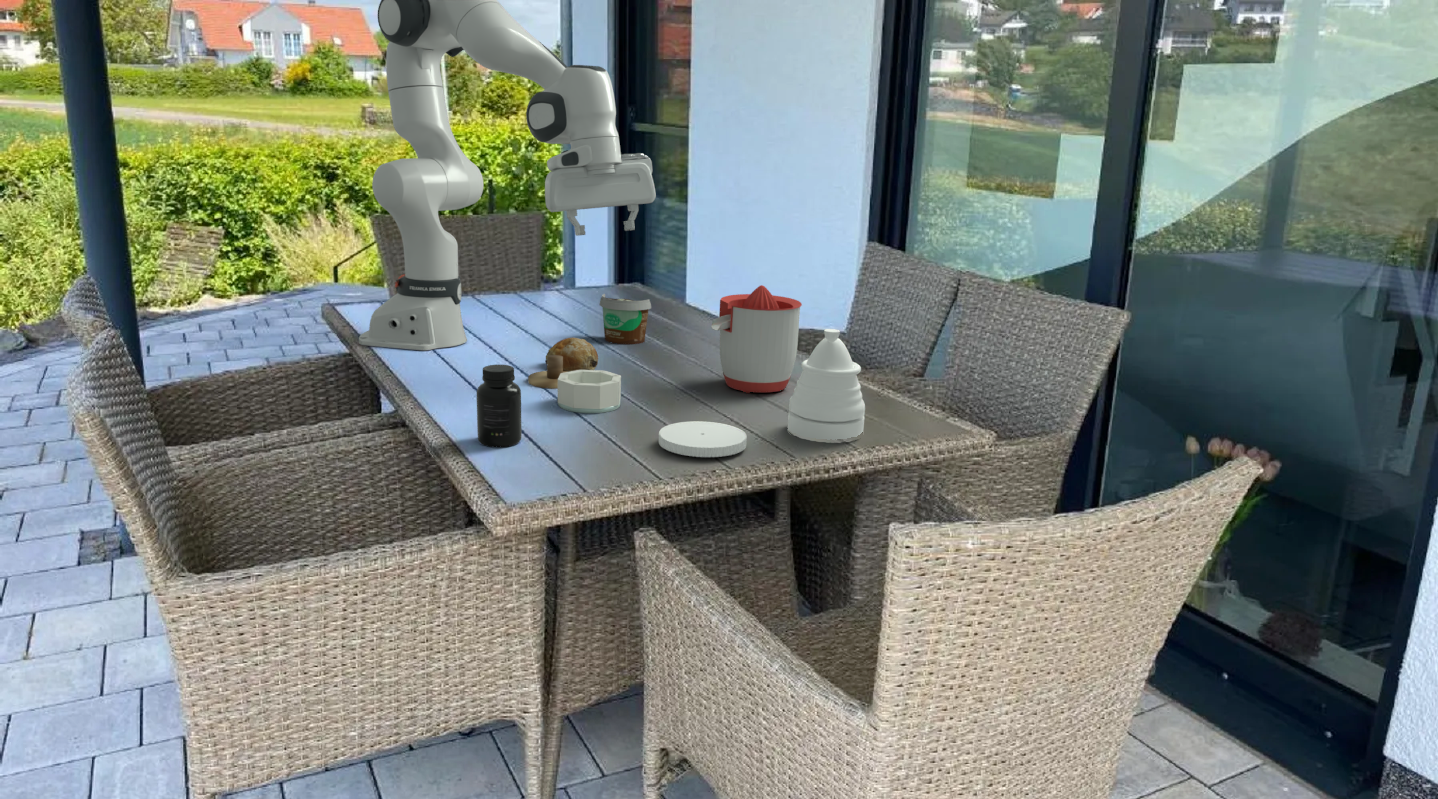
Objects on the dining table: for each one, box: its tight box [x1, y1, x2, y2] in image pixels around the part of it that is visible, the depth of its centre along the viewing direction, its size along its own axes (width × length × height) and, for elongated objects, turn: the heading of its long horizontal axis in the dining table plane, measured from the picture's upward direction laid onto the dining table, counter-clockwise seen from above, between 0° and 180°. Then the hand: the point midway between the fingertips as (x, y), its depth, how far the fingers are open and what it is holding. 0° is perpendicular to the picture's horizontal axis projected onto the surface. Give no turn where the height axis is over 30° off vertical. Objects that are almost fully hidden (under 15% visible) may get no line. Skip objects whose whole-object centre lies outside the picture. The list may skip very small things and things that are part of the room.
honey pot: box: [787, 328, 866, 440], centre depth 181 cm, size 13×13×18 cm
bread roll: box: [544, 337, 599, 372], centre depth 218 cm, size 10×10×8 cm
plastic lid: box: [658, 420, 748, 458], centre depth 172 cm, size 14×14×2 cm
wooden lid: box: [527, 355, 567, 390], centre depth 206 cm, size 10×10×5 cm
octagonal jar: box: [557, 369, 622, 414], centre depth 192 cm, size 11×11×5 cm
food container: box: [599, 293, 652, 345], centre depth 241 cm, size 12×6×10 cm, turn 68°
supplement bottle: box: [476, 364, 522, 448], centre depth 168 cm, size 7×7×12 cm
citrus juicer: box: [710, 285, 803, 394], centre depth 207 cm, size 16×17×20 cm
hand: (605, 232), depth 198 cm, fingers open, 8 cm apart
